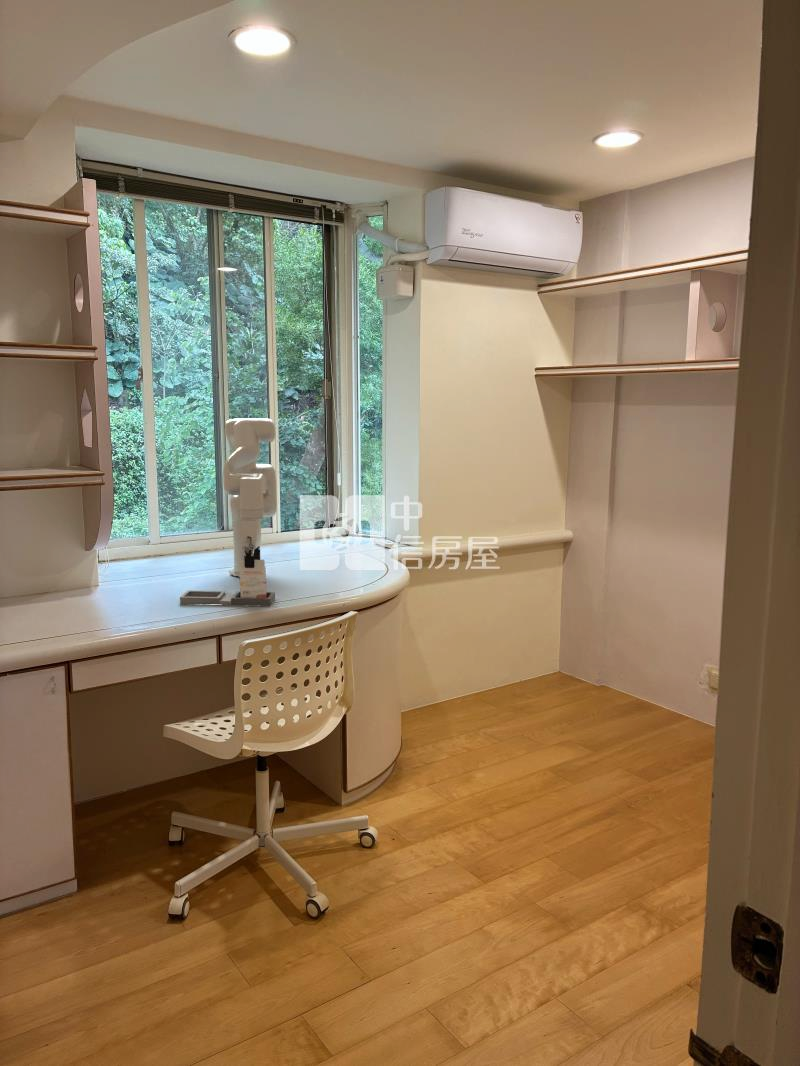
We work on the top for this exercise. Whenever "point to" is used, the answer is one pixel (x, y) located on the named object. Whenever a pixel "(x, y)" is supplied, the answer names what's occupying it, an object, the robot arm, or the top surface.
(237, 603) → the grey tray
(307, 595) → the top surface
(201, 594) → the brown rectangular tray
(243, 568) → the ink cartridge box
